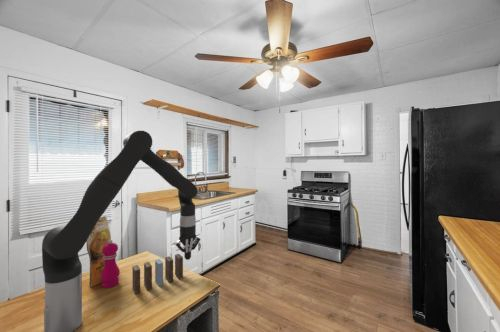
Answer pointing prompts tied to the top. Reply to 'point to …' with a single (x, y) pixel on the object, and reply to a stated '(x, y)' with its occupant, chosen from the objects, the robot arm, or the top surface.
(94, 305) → the top surface
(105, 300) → the top surface
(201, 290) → the top surface
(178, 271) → the domino
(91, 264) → the pancake mix bag
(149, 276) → the domino
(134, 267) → the domino
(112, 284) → the pepper mill
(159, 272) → the domino
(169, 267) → the domino
